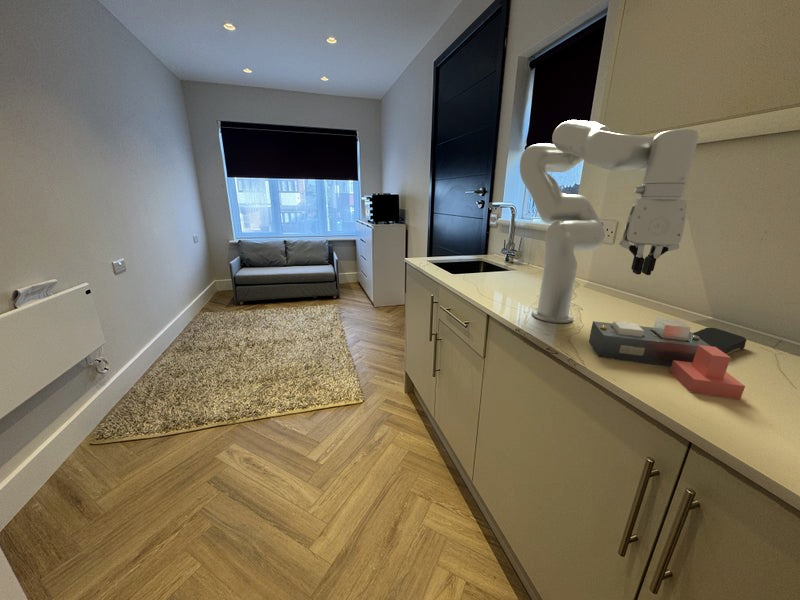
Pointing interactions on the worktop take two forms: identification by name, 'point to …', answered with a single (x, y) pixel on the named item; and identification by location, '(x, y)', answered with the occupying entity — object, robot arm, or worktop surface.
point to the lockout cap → (708, 374)
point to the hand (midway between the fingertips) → (641, 273)
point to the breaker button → (627, 329)
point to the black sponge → (722, 339)
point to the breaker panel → (647, 343)
